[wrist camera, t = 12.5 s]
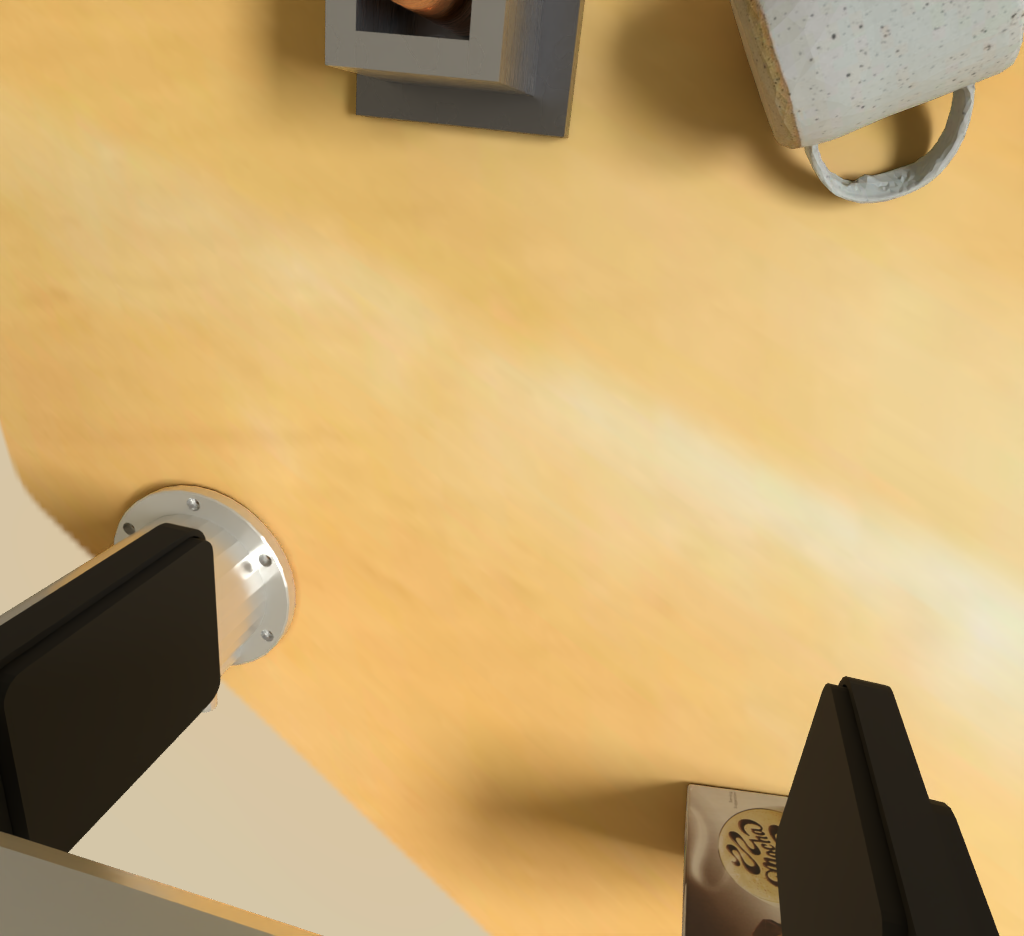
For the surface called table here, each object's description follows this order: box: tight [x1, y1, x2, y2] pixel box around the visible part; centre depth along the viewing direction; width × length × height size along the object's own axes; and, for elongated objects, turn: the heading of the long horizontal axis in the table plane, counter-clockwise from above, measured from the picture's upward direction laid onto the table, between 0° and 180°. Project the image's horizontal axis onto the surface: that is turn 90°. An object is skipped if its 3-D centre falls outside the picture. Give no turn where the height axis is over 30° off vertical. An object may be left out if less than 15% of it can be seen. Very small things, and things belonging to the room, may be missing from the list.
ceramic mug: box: [730, 0, 1024, 203], centre depth 28 cm, size 11×8×8 cm
